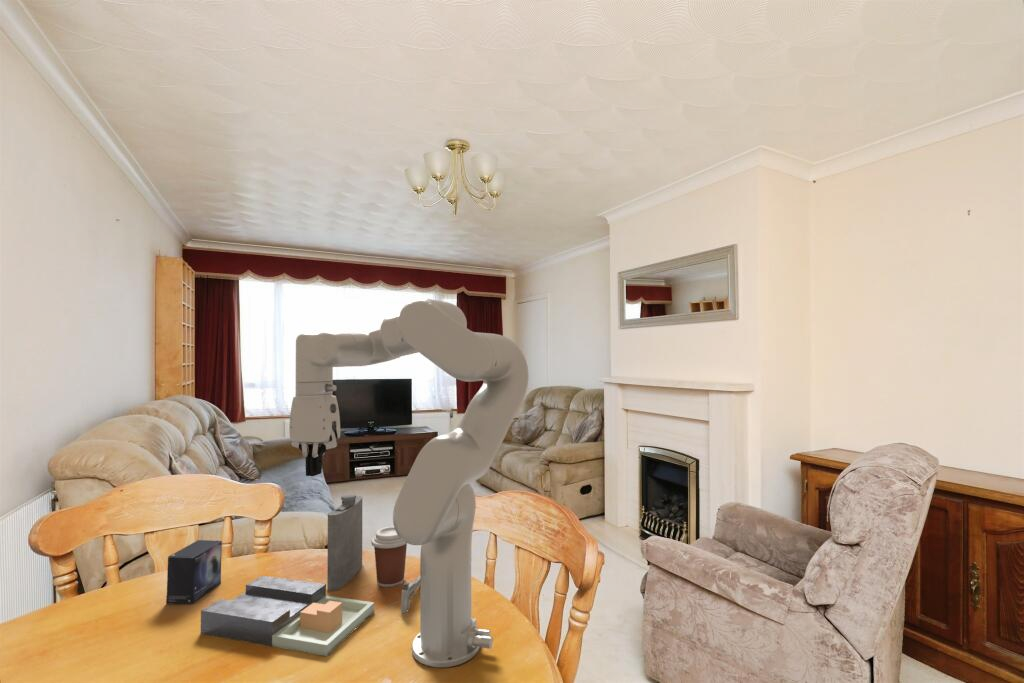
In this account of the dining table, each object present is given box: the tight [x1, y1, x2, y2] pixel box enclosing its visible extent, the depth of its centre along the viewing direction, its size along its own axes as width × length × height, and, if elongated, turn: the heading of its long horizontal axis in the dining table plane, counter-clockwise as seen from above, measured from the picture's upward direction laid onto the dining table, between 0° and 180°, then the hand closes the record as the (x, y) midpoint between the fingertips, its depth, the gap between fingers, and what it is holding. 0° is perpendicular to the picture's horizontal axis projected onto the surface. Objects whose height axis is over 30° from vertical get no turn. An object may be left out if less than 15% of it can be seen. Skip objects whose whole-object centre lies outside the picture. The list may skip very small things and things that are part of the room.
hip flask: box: [326, 493, 363, 592], centre depth 122 cm, size 16×4×20 cm, turn 175°
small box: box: [165, 539, 223, 605], centre depth 114 cm, size 11×6×10 cm, turn 179°
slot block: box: [200, 575, 327, 647], centre depth 102 cm, size 17×16×4 cm
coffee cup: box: [370, 526, 408, 588], centre depth 119 cm, size 9×9×12 cm
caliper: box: [400, 575, 420, 616], centre depth 113 cm, size 20×1×6 cm, turn 176°
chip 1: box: [300, 603, 325, 630], centre depth 99 cm, size 4×4×3 cm
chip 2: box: [317, 601, 342, 633], centre depth 98 cm, size 4×4×3 cm
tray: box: [271, 595, 375, 657], centre depth 98 cm, size 12×16×2 cm
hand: (313, 474), depth 106 cm, fingers closed
